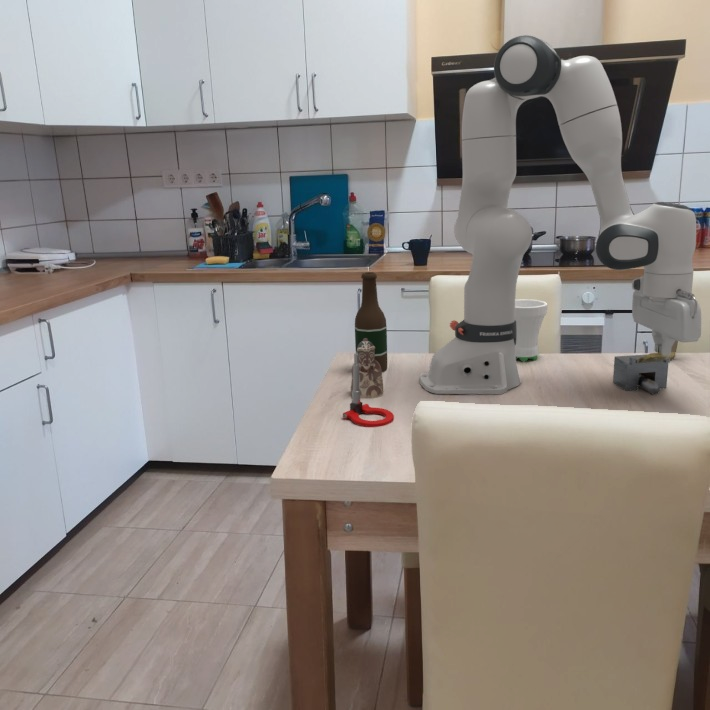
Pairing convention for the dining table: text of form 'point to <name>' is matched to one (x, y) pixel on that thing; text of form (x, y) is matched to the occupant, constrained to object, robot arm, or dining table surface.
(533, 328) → the cup
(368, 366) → the figurine
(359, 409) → the tow hook
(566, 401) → the dining table surface
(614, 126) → the robot arm
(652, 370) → the block
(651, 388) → the orange piece
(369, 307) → the beer bottle
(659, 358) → the keeper flap
